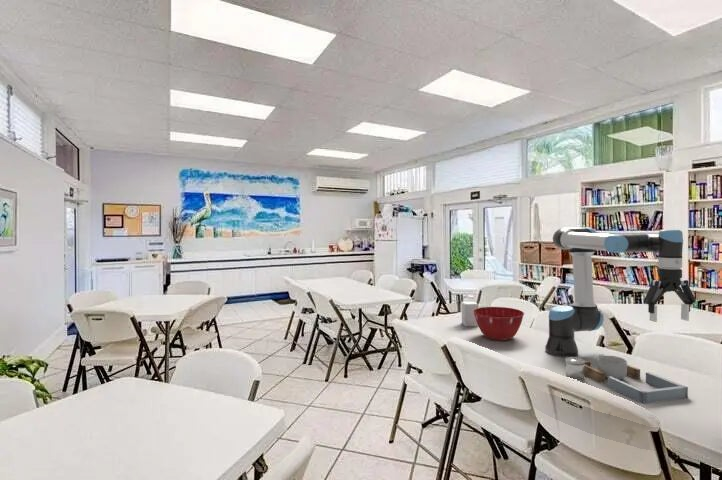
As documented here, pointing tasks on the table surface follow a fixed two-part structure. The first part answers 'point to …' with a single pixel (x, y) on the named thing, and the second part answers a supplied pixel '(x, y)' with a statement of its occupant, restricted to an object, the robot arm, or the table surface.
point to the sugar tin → (575, 368)
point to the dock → (666, 391)
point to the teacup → (612, 366)
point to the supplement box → (469, 313)
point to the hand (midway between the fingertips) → (669, 320)
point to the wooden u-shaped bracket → (600, 375)
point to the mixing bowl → (498, 322)
